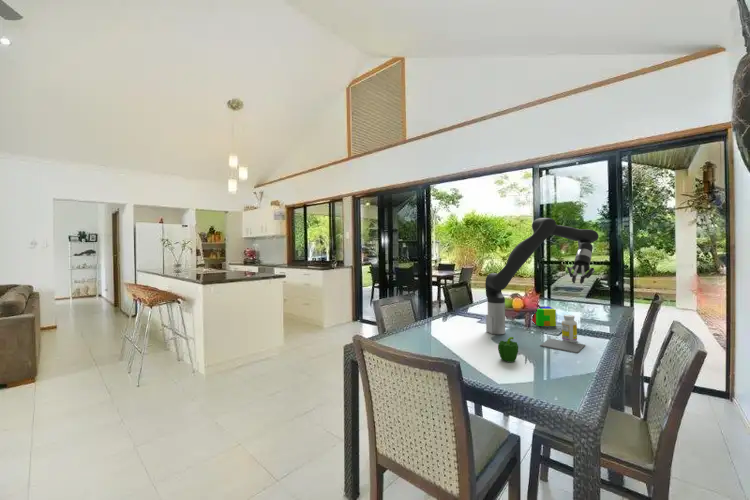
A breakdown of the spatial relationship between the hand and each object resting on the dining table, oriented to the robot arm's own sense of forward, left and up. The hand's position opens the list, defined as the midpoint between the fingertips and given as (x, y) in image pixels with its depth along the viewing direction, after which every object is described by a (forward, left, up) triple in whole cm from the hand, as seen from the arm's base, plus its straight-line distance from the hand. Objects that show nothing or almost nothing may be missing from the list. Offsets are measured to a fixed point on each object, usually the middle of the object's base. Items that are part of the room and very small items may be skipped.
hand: (577, 282), depth 182 cm
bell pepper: (-58, -26, -28) cm, 70 cm away
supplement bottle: (-13, -9, -28) cm, 32 cm away
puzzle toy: (-4, +22, -28) cm, 36 cm away
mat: (-23, -16, -28) cm, 39 cm away
